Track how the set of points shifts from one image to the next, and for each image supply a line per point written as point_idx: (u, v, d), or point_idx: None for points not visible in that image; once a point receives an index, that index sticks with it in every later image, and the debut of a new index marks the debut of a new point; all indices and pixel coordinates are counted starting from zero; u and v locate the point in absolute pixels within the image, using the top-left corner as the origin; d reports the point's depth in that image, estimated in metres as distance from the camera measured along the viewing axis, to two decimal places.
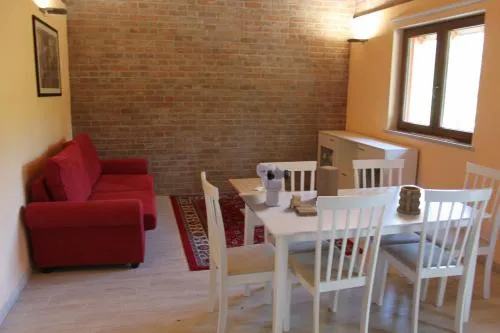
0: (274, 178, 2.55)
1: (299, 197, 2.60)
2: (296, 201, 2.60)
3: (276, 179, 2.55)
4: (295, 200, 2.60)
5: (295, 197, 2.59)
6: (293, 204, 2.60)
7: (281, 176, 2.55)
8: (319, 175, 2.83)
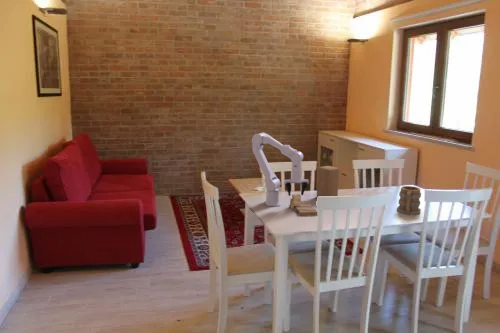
0: None
1: (299, 197, 2.60)
2: (296, 201, 2.60)
3: None
4: (295, 200, 2.60)
5: (295, 197, 2.59)
6: (293, 204, 2.60)
7: None
8: (319, 175, 2.83)
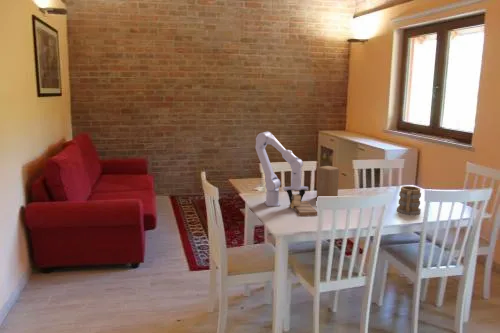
0: None
1: (299, 197, 2.60)
2: (296, 201, 2.60)
3: None
4: (295, 200, 2.60)
5: (295, 197, 2.59)
6: (293, 204, 2.60)
7: None
8: (319, 175, 2.83)
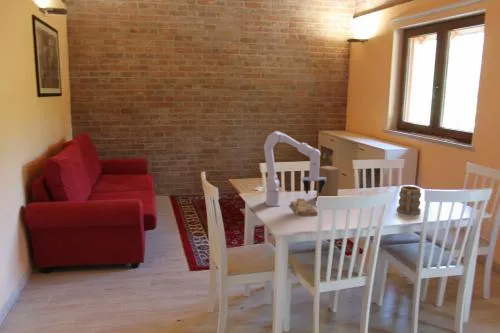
0: None
1: (304, 202, 2.49)
2: (301, 206, 2.49)
3: None
4: (300, 205, 2.49)
5: (300, 202, 2.49)
6: (298, 210, 2.49)
7: None
8: (319, 175, 2.83)
